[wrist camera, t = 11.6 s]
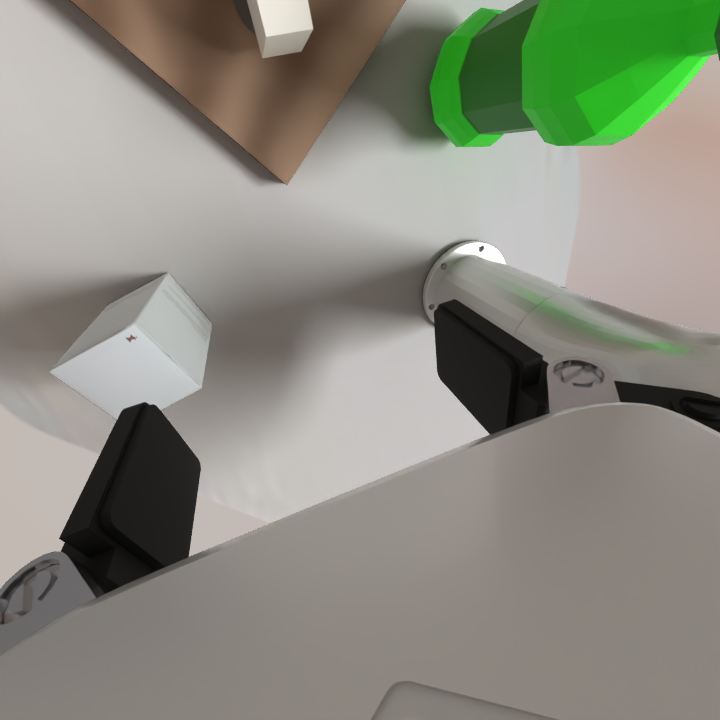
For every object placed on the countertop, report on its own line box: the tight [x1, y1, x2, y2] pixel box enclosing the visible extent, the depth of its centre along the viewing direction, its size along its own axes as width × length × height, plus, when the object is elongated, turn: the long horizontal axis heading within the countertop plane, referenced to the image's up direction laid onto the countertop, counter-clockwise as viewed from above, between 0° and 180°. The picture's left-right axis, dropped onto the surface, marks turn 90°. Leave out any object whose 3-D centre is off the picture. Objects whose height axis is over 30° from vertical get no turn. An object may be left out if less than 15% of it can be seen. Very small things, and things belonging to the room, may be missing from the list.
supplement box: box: [49, 273, 212, 420], centre depth 30 cm, size 7×7×13 cm
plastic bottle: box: [429, 0, 720, 147], centre depth 22 cm, size 10×11×25 cm
